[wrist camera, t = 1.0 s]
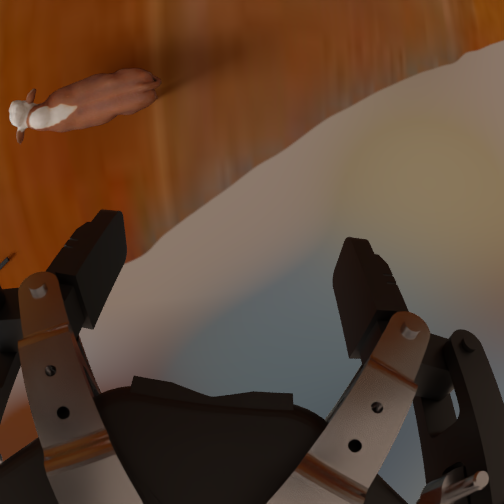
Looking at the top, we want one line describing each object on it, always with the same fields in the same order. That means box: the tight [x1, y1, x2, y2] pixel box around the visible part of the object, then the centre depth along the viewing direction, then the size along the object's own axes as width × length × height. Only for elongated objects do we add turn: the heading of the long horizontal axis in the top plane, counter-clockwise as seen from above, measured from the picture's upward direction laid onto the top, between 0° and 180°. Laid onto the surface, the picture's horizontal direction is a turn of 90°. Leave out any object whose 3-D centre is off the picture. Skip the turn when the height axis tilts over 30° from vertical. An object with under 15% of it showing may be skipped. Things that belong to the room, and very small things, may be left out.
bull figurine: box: [9, 68, 161, 144], centre depth 21 cm, size 4×13×8 cm, turn 89°
